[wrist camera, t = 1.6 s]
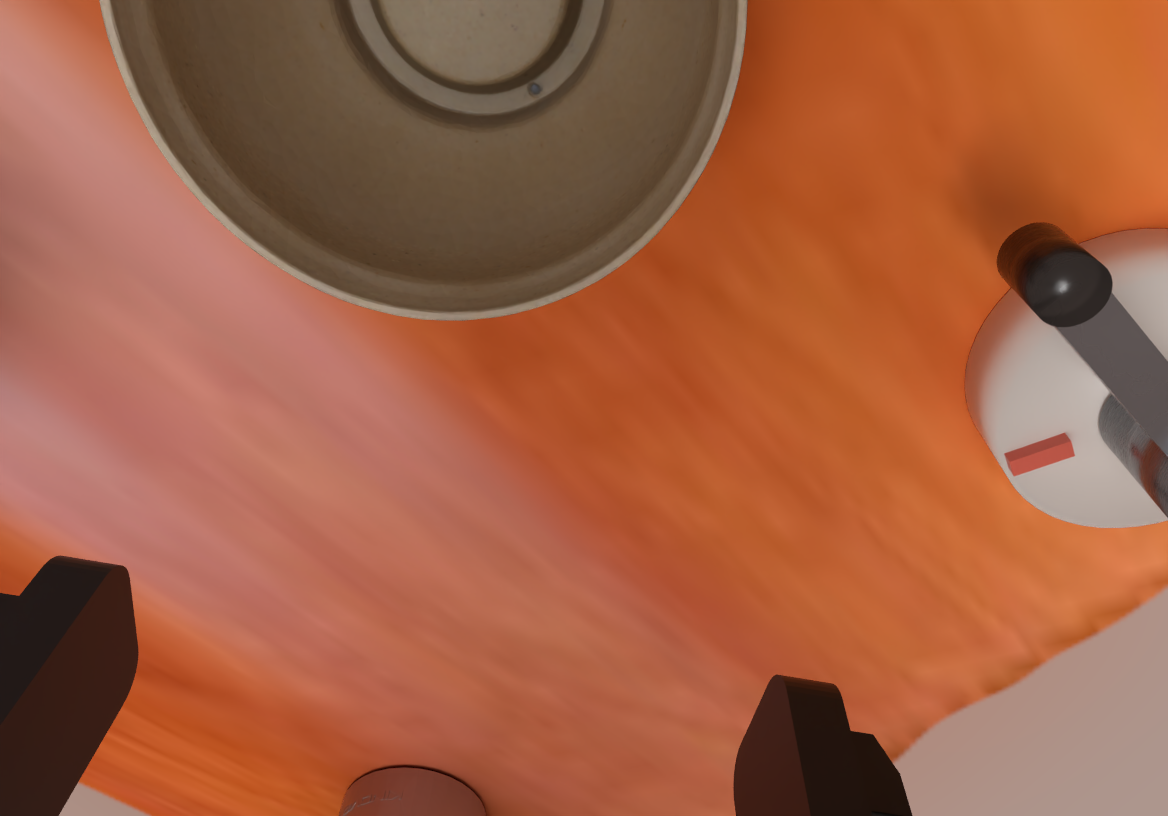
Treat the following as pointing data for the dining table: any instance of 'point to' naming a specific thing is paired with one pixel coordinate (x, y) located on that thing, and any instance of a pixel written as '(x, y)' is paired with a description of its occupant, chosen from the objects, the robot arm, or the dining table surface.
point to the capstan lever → (1098, 344)
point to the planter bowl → (435, 134)
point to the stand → (1066, 393)
